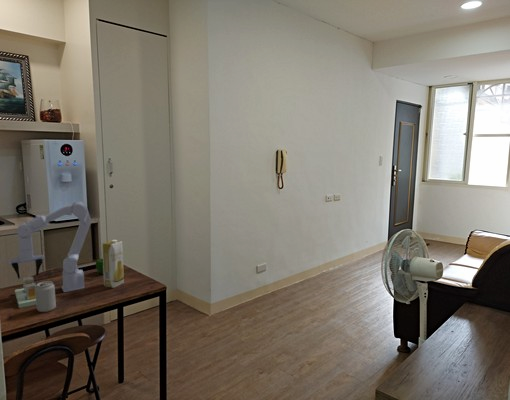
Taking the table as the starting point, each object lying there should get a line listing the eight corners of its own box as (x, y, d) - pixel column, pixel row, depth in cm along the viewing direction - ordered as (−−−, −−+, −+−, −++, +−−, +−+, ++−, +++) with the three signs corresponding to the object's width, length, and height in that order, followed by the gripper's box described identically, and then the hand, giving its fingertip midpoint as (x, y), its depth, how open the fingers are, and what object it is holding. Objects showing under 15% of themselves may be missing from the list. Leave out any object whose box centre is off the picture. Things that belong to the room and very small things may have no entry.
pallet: (41, 288, 189) (40, 285, 188) (47, 302, 173) (46, 298, 173) (15, 293, 182) (14, 289, 182) (19, 308, 166) (18, 303, 166)
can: (41, 306, 169) (39, 280, 167) (58, 305, 170) (57, 280, 168) (33, 313, 162) (31, 286, 160) (51, 312, 162) (49, 286, 161)
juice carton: (113, 289, 190) (111, 242, 186) (101, 286, 193) (99, 241, 189) (126, 282, 198) (124, 238, 195) (114, 280, 201) (112, 237, 198)
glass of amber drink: (36, 299, 176) (35, 282, 175) (37, 302, 173) (36, 285, 172) (26, 301, 174) (25, 284, 173) (27, 304, 171) (26, 287, 170)
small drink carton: (33, 292, 185) (32, 276, 183) (34, 294, 181) (33, 279, 180) (24, 294, 182) (22, 278, 181) (25, 296, 179) (23, 280, 178)
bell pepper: (100, 276, 208) (100, 258, 206) (93, 273, 213) (92, 255, 212) (115, 272, 214) (114, 255, 213) (107, 269, 219) (106, 252, 218)
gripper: (42, 244, 186) (44, 271, 188) (7, 249, 177) (9, 276, 179) (44, 247, 180) (46, 275, 182) (8, 252, 172) (10, 281, 174)
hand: (28, 276), depth 180 cm, fingers open, 7 cm apart
